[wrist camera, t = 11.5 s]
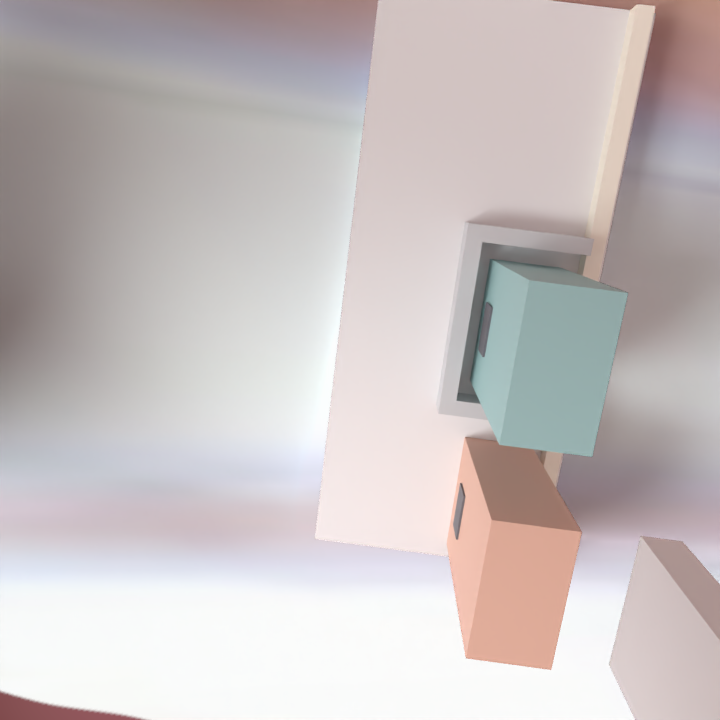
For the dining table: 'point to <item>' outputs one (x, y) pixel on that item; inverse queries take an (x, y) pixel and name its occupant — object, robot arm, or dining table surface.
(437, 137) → the shelf
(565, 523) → the terracotta carton
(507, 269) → the teal carton
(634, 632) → the robot arm
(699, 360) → the dining table surface
